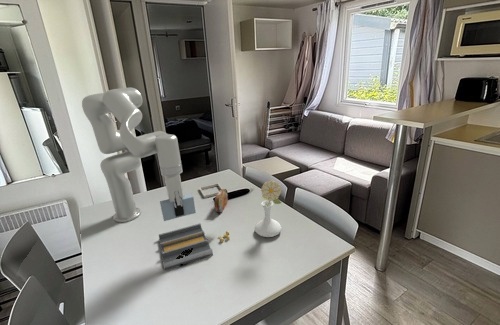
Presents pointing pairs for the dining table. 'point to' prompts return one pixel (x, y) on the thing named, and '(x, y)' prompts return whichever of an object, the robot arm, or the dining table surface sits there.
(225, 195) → the tin
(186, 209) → the blue-grey rectangular block
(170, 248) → the rack
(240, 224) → the dining table surface
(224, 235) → the dice set
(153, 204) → the dining table surface
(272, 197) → the flower in vase
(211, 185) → the beige square frame
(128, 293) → the dining table surface
